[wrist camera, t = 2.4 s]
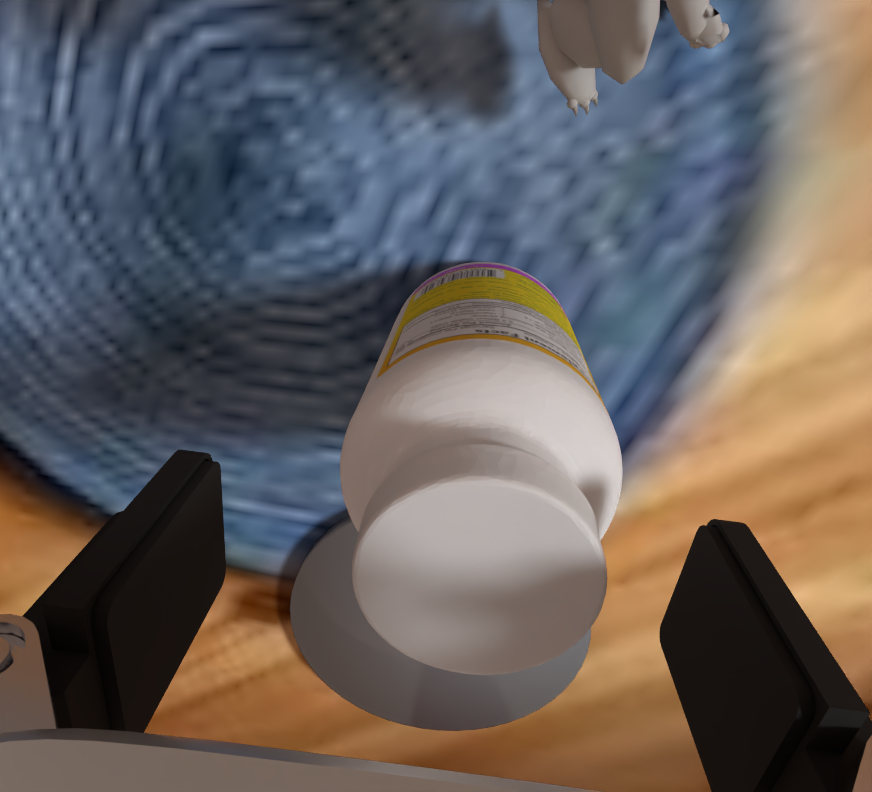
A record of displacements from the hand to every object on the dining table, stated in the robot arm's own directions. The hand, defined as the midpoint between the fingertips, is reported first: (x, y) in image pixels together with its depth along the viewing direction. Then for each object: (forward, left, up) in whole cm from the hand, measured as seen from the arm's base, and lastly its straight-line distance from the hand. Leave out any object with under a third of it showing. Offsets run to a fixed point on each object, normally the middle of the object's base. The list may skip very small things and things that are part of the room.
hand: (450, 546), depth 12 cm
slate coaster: (-1, +14, -12) cm, 18 cm away
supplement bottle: (-1, 0, -12) cm, 12 cm away
